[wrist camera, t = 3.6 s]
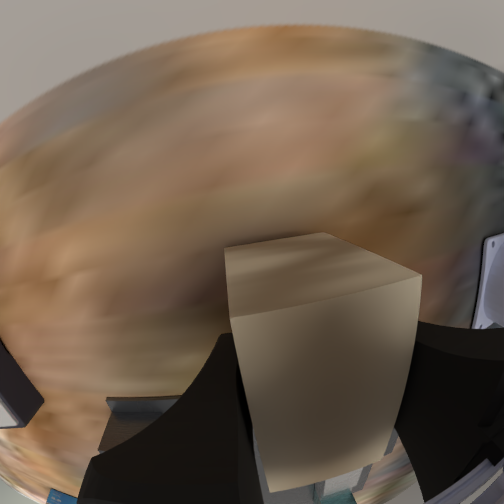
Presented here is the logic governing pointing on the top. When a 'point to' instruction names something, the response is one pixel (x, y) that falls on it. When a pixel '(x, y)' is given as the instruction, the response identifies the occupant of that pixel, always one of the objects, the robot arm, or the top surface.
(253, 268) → the birch block
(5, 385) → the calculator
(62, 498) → the ink box
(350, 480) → the sliding jaw
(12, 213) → the top surface
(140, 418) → the vise base
